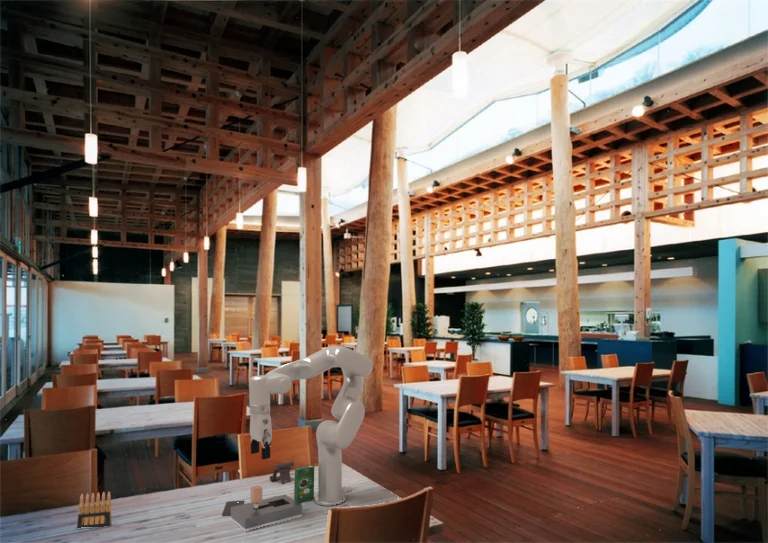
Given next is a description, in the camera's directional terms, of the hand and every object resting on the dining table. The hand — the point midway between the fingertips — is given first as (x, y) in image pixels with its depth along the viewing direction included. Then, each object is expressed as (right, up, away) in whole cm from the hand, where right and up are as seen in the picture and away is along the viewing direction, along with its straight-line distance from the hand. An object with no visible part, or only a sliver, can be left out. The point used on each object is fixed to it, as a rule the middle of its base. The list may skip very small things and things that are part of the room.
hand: (260, 455), depth 192 cm
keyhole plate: (+2, -23, -1) cm, 23 cm away
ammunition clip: (-58, -23, -7) cm, 63 cm away
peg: (-1, -22, -3) cm, 22 cm away
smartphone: (-13, -24, +9) cm, 29 cm away
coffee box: (+14, -25, +17) cm, 33 cm away
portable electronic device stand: (0, -27, +42) cm, 50 cm away
